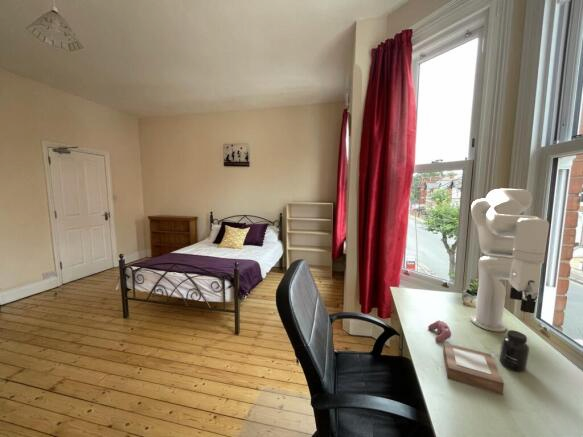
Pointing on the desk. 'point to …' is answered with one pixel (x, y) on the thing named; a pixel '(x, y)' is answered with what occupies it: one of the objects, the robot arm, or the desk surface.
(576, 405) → the desk surface
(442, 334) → the video game controller
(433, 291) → the desk surface
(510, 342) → the supplement bottle
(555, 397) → the desk surface
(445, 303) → the desk surface
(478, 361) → the brown picture frame
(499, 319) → the robot arm
